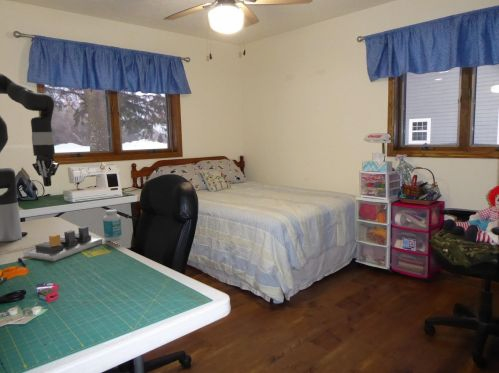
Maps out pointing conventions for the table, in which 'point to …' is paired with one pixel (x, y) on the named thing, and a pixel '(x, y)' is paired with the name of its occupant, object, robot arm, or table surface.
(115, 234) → the pill bottle
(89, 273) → the table surface
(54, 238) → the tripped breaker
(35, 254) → the panel
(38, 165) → the robot arm
